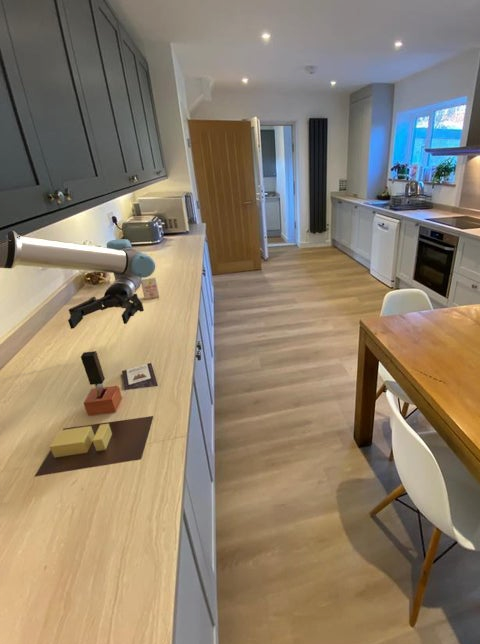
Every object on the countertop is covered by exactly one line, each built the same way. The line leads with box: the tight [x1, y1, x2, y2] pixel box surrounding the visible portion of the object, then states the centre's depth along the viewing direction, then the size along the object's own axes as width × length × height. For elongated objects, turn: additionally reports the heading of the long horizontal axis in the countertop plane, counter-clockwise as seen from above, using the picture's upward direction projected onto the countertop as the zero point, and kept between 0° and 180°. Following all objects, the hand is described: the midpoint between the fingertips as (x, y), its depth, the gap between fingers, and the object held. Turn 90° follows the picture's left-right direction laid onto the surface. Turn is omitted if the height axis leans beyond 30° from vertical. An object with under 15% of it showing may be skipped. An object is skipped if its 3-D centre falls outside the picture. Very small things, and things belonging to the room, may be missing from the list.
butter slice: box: [93, 424, 112, 451], centre depth 78 cm, size 2×5×4 cm, turn 12°
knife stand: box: [83, 385, 123, 417], centre depth 90 cm, size 7×6×6 cm
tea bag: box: [141, 277, 160, 301], centre depth 163 cm, size 4×7×10 cm, turn 116°
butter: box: [49, 426, 95, 458], centre depth 77 cm, size 7×5×4 cm
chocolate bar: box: [121, 362, 159, 391], centre depth 101 cm, size 9×1×18 cm
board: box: [34, 415, 154, 478], centre depth 79 cm, size 22×14×2 cm, turn 102°
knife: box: [80, 350, 106, 399], centre depth 87 cm, size 3×3×19 cm
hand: (97, 322), depth 90 cm, fingers open, 13 cm apart
